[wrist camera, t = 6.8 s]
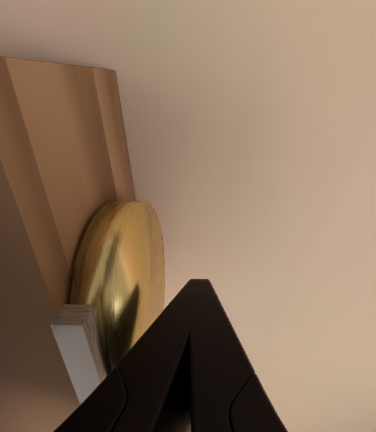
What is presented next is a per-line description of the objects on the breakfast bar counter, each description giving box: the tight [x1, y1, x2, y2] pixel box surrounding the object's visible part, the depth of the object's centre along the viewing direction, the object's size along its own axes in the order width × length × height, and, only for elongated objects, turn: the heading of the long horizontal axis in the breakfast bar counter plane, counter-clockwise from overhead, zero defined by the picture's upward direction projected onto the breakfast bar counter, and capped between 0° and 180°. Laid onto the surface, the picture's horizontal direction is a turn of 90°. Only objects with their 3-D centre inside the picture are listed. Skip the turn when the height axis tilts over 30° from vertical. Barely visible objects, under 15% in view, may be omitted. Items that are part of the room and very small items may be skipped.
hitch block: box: [0, 57, 136, 432], centre depth 9 cm, size 6×12×6 cm, turn 4°
